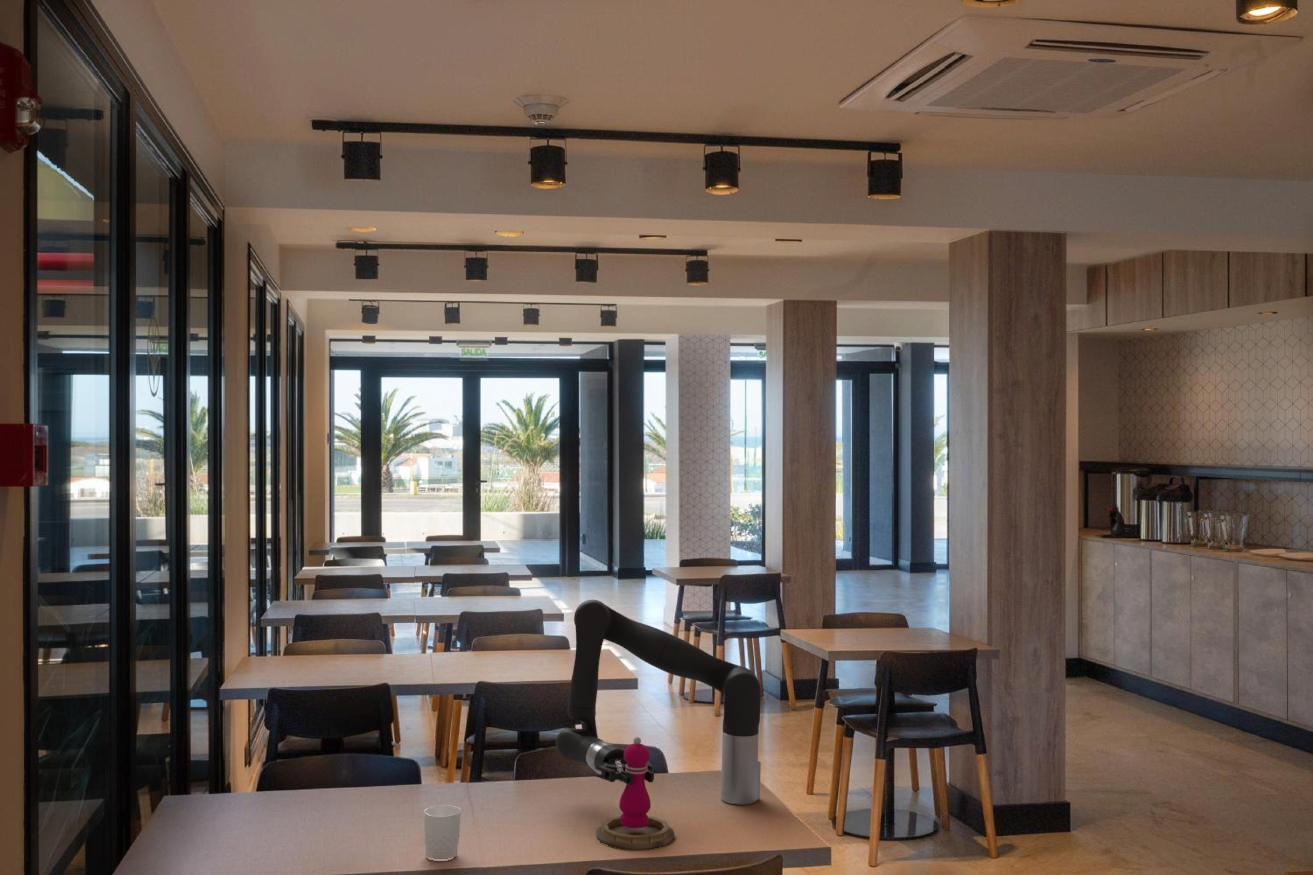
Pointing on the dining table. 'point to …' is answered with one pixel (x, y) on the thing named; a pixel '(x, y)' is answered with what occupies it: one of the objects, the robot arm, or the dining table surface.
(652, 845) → the tray
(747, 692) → the robot arm
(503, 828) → the dining table surface
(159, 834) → the dining table surface
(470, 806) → the dining table surface
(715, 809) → the dining table surface
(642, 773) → the pepper mill
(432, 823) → the white cup
